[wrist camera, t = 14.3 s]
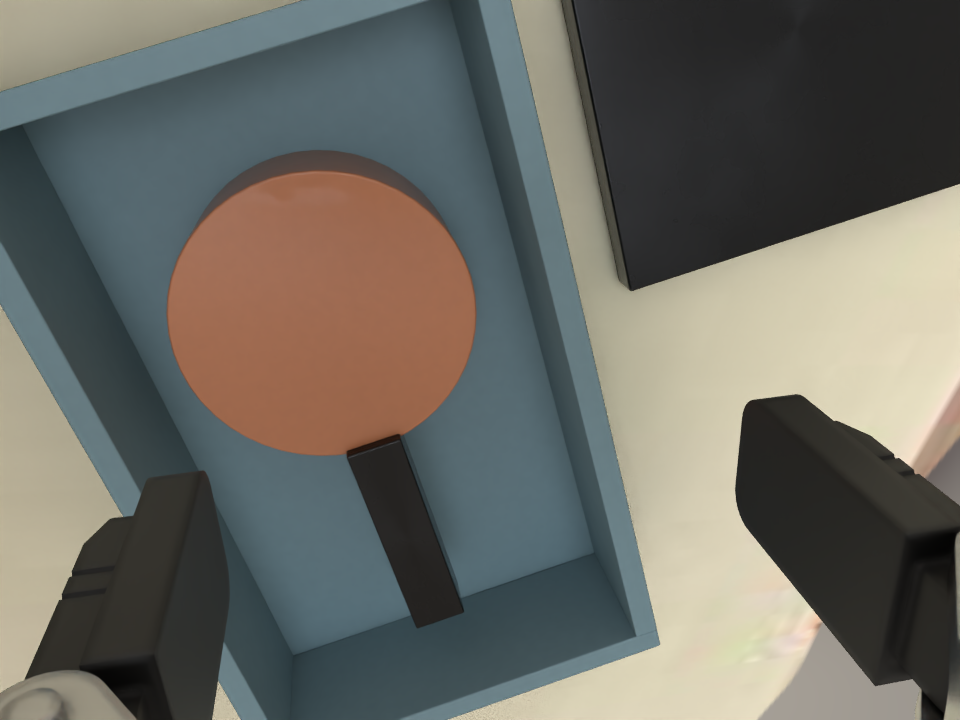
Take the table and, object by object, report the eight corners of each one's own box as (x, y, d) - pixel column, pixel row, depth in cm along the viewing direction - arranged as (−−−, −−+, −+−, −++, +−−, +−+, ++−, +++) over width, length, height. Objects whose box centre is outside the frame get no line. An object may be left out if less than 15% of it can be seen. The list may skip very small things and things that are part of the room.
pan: (136, 199, 25) (105, 231, 21) (415, 113, 25) (429, 130, 22) (319, 590, 32) (318, 663, 28) (535, 517, 32) (561, 580, 29)
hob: (528, -155, 23) (538, -162, 22) (972, -286, 24) (1002, -300, 23) (619, 282, 30) (630, 292, 28) (971, 167, 30) (995, 173, 29)
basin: (-15, 97, 24) (-106, 123, 19) (461, -46, 24) (497, -59, 19) (282, 664, 34) (275, 780, 29) (611, 552, 34) (660, 645, 29)
